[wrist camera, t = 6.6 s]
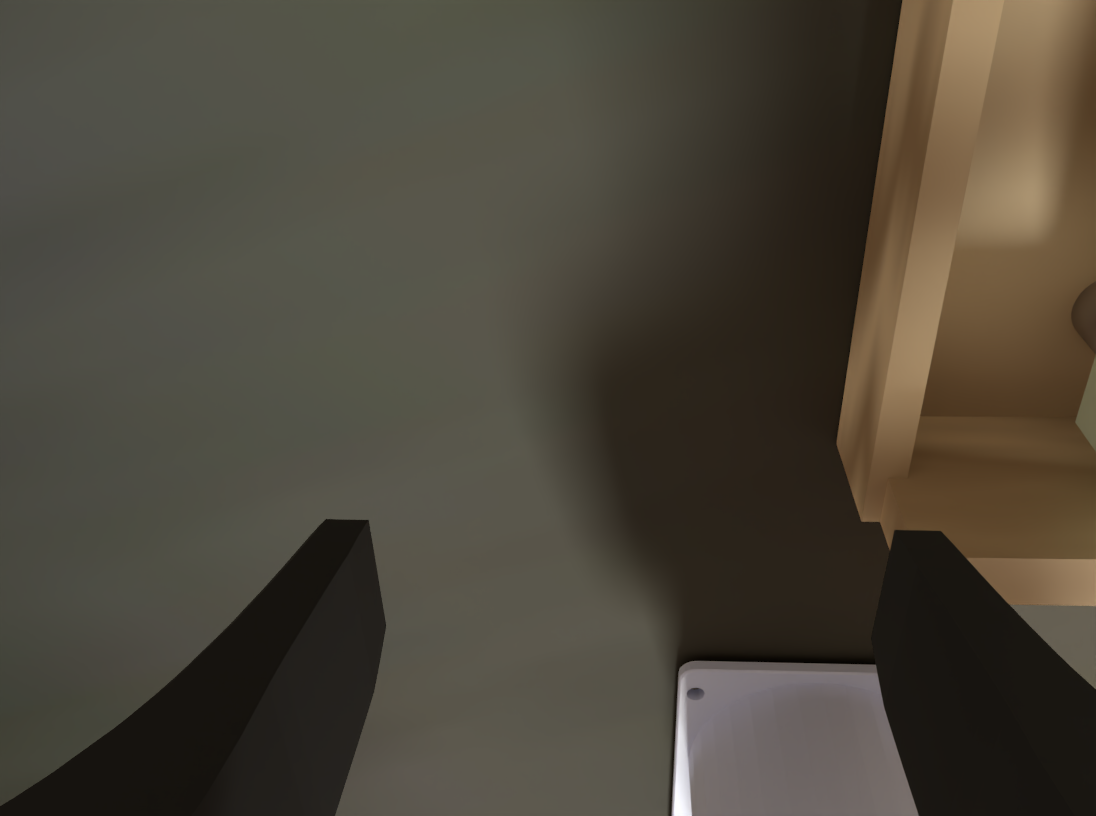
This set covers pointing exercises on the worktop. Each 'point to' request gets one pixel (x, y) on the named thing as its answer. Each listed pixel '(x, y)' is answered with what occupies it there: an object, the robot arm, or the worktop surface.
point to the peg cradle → (983, 295)
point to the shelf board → (1088, 409)
